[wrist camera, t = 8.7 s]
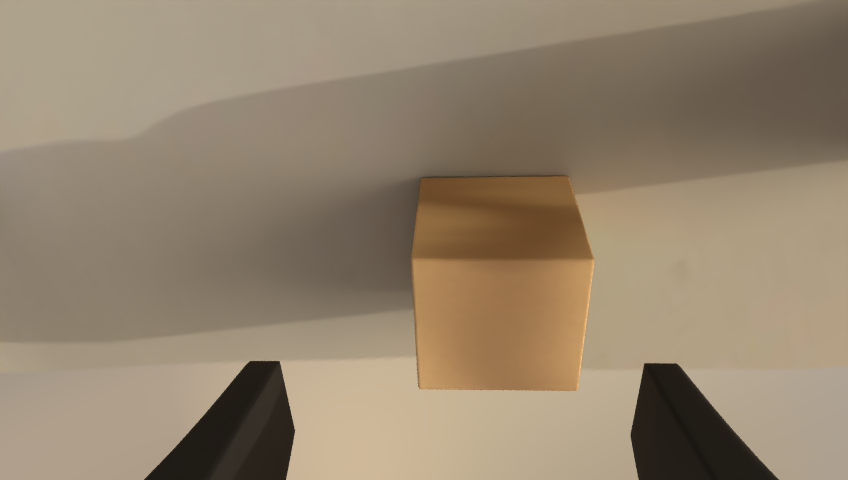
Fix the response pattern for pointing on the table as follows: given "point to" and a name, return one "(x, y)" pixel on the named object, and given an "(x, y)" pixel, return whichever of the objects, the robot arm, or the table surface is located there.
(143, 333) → the table surface
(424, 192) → the block
